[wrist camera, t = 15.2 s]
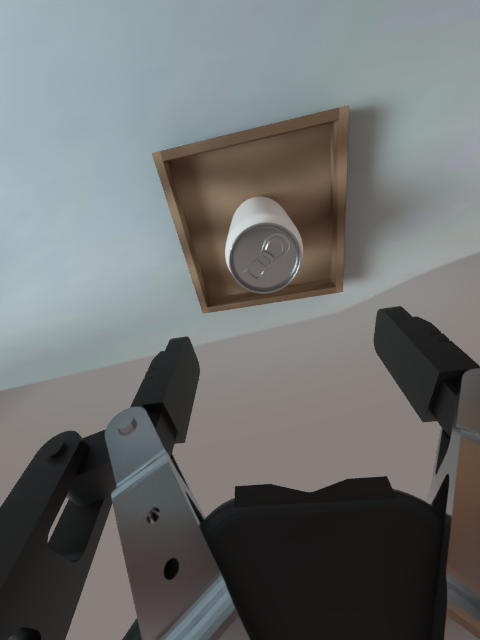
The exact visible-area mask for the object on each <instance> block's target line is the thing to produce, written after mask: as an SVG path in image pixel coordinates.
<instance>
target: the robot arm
mask: <svg viewBox="0 0 480 640" xmlns="http://www.w3.org/2000/svg"><path fill="white" fill-rule="evenodd" d="M374 347H375V350H376V353H377V354H378V356H379V357H380V359H381V360H382V362H383V363H384V365H385V366H386V368H387V369H388V371H389V372H390V374H391V375H392V377H393V378H394V380H395V381H396V383H397V384H398V386H399V387H400V389H401V390H402V392H403V393H404V395H405V396H406V397H407V399H408V401H409V402H410V404H411V405H412V407H413V408H414V410H415V411H416V413H417V414H418V415H419V417H420V419H421V420H422V421H423V422H432V421H438V423H439V424H440V426H441V427H442V428H441V430H440V434H439V440H438V446H437V451H436V458H435V463H434V470H433V475H432V481H431V485H430V489H429V492H428V495H427V499H426V502H425V501H423V500H421V499H420V498H417V497H415V496H413V495H410V494H408V493H405V492H402V491H399V490H395V489H392V487H391V485H390V482H389V480H388V478H387V476H385V477H371V478H355V479H346V480H344V481H341V482H338V483H336V484H333V485H330V486H328V487H325V488H322V489H320V490H317V491H315V492H303V491H299V490H294V489H290V488H286V487H281V486H276V485H272V484H264V485H250V486H236V487H235V498H234V499H231V500H229V501H227V502H225V503H223V504H222V505H220V506H219V507H218V508H216V509H215V510H214V511H213V512H211V513H210V514H209V515H208V516H207V517H205V515H204V513H203V511H202V510H201V508H200V506H199V504H198V503H197V501H196V499H195V497H194V495H193V493H192V491H191V489H190V487H189V485H188V483H187V481H186V479H185V477H184V475H183V473H182V471H181V469H180V467H179V465H178V463H177V461H176V460H175V458H174V455H173V454H172V451H173V447H174V444H176V443H185V439H186V435H187V430H188V425H189V421H190V416H191V412H192V407H193V402H194V398H195V394H196V389H197V384H198V380H199V374H200V368H199V362H198V360H197V357H196V354H195V352H194V349H193V346H192V344H191V341H190V339H189V337H180V338H173V339H170V340H169V343H168V345H167V347H166V350H165V351H161V352H160V353H159V354H158V355H157V356H156V357H155V358H154V359H153V360H152V362H151V364H150V366H149V369H148V371H147V373H146V375H145V379H143V381H142V383H141V386H140V388H139V390H138V392H137V394H136V396H135V398H134V400H133V403H132V405H131V407H130V408H128V409H125V410H123V411H122V412H120V413H119V414H117V415H116V416H115V417H114V418H113V419H112V420H111V421H110V423H109V424H108V426H107V428H106V430H103V431H100V432H98V433H95V434H93V435H90V436H88V437H85V438H82V437H81V436H80V435H79V434H78V433H77V432H75V431H66V432H63V433H60V434H58V435H56V436H55V437H53V438H52V439H50V440H49V441H48V442H47V443H46V444H44V445H43V446H42V447H41V448H40V449H39V451H38V452H37V453H36V455H35V456H34V458H33V459H32V461H31V463H30V464H29V465H28V467H27V468H26V470H25V471H24V473H23V474H22V476H21V478H20V479H19V480H18V482H17V483H16V485H15V486H14V488H13V489H12V491H11V492H10V494H9V495H8V497H7V498H6V500H5V501H4V503H3V504H2V506H1V507H0V640H65V638H66V636H67V633H68V630H69V627H70V624H71V621H72V618H73V615H74V613H75V610H76V607H77V604H78V601H79V598H80V595H81V592H82V589H83V587H84V583H85V580H86V578H87V575H88V572H89V569H90V566H91V563H92V560H93V557H94V554H95V552H96V549H97V546H98V543H99V540H100V537H101V534H102V531H103V528H104V526H105V522H106V520H107V517H108V514H109V511H110V508H111V505H112V504H113V508H114V513H115V517H116V522H117V527H118V531H119V536H120V541H121V545H122V550H123V554H124V559H125V564H126V568H127V573H128V577H129V582H130V586H131V591H132V595H133V600H134V605H135V609H136V614H137V619H136V620H135V622H134V623H133V625H132V626H131V628H130V629H129V630H128V632H127V633H126V635H125V637H124V638H123V639H122V640H480V366H479V365H478V364H477V363H475V362H474V361H473V360H472V359H471V358H470V357H469V356H468V355H467V354H465V353H464V352H463V351H462V350H461V349H460V348H459V347H458V346H456V345H455V344H454V343H453V342H452V341H449V339H448V338H447V337H446V336H445V335H444V334H441V332H440V331H439V330H438V329H437V328H436V327H435V326H434V325H433V324H432V323H430V322H427V321H426V320H423V319H421V318H419V317H412V316H411V315H410V314H409V313H408V312H407V311H406V310H404V308H402V307H401V306H398V307H391V308H384V309H379V310H378V312H377V317H376V325H375V333H374ZM66 497H67V498H68V499H69V500H68V503H67V505H66V507H65V509H64V511H63V513H62V515H61V517H60V519H59V521H58V524H57V526H56V528H55V530H54V532H53V534H52V536H51V538H50V540H49V542H48V543H47V540H48V534H49V531H50V528H51V526H52V524H53V522H54V520H55V518H56V516H57V514H58V512H59V510H60V507H61V506H62V504H63V502H64V500H65V498H66Z"/></svg>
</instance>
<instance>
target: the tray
mask: <svg viewBox="0 0 480 640" xmlns="http://www.w3.org/2000/svg"><path fill="white" fill-rule="evenodd" d="M348 122H349V105H348V106H344V107H340V108H336V109H332V110H328V111H324V112H319V113H315V114H311V115H307V116H303V117H299V118H295V119H291V120H287V121H282V122H278V123H274V124H270V125H266V126H262V127H258V128H254V129H250V130H245V131H241V132H237V133H233V134H229V135H225V136H221V137H217V138H213V139H209V140H204V141H200V142H196V143H192V144H188V145H184V146H180V147H176V148H172V149H167V150H163V151H159V152H155V153H152V155H153V158H154V162H155V165H156V168H157V171H158V174H159V177H160V180H161V184H162V187H163V190H164V193H165V196H166V199H167V202H168V206H169V209H170V212H171V215H172V218H173V221H174V224H175V227H176V231H177V234H178V237H179V240H180V243H181V246H182V249H183V253H184V256H185V259H186V262H187V265H188V268H189V271H190V275H191V278H192V281H193V284H194V287H195V290H196V293H197V297H198V300H199V303H200V306H201V309H202V312H203V313H209V312H216V311H222V310H229V309H235V308H242V307H248V306H255V305H261V304H268V303H274V302H281V301H287V300H294V299H300V298H306V297H313V296H319V295H326V294H332V293H339V292H343V270H344V240H345V211H346V181H347V152H348ZM259 196H262V197H267V198H270V199H272V200H274V201H276V202H277V203H278V204H279V205H280V206H281V207H282V208H283V209H284V211H285V212H286V213H287V215H288V216H289V218H290V219H291V221H292V222H293V223H294V225H295V226H296V228H297V230H298V232H299V234H300V236H301V239H302V244H303V256H302V261H301V266H300V269H299V271H298V273H297V275H296V277H295V278H294V279H293V280H292V282H291V283H289V284H288V285H287V286H286V287H284V288H283V289H281V290H279V291H276V292H273V293H266V294H261V293H254V292H251V291H249V290H247V289H245V288H243V287H242V286H241V285H239V284H238V283H237V281H236V280H235V279H234V277H233V275H232V274H231V272H230V270H229V268H228V266H227V263H226V258H225V247H226V241H227V237H228V233H229V229H230V225H231V222H232V218H233V216H234V213H235V211H236V210H237V208H238V207H239V206H240V205H241V204H242V203H243V202H244V201H246V200H248V199H250V198H253V197H259Z"/></svg>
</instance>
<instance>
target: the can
mask: <svg viewBox="0 0 480 640" xmlns="http://www.w3.org/2000/svg"><path fill="white" fill-rule="evenodd" d="M302 256H303V244H302V239H301V236H300V234H299V232H298V230H297V228H296V226H295V225H294V223H293V222H292V221H291V219H290V218H289V216H288V215H287V213H286V212H285V211H284V209H283V208H282V207H281V206H280V205H279V204H278V203H277V202H276V201H274V200H272V199H270V198H267V197H262V196H259V197H253V198H250V199H248V200H246V201H244V202H243V203H242V204H241V205H240V206H239V207H238V208H237V210H236V211H235V213H234V216H233V218H232V222H231V225H230V229H229V233H228V237H227V241H226V247H225V258H226V263H227V266H228V268H229V270H230V272H231V274H232V275H233V277H234V279H235V280H236V281H237V283H238V284H239V285H241V286H242V287H243V288H245V289H247V290H249V291H251V292H254V293H261V294H266V293H273V292H276V291H279V290H281V289H283V288H284V287H286V286H287V285H288V284H289V283H291V282H292V280H293V279H294V278H295V277H296V275H297V273H298V271H299V269H300V266H301V261H302Z"/></svg>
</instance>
